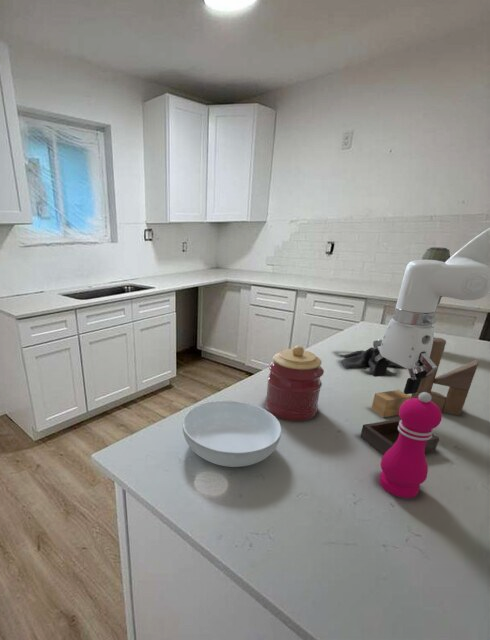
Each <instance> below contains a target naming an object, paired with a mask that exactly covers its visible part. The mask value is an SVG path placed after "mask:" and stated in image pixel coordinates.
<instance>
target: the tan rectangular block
mask: <svg viewBox="0 0 490 640" xmlns="http://www.w3.org/2000/svg"><path fill="white" fill-rule="evenodd" d="M408 399H411V395H410V394H405V393H404V391H402V390H400V389H395V390H387V391H381V392H374V396H373V401H372V405H371V408H370V410H371V411H373V412H374V413H376V414H377V415H378V416H380V417H382V418H386V417H387V418H388V417H394V416H399V409H400V407H401V405H402V404H403V403H404V402H405V401H406V400H408Z"/></svg>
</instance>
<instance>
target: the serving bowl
mask: <svg viewBox="0 0 490 640" xmlns="http://www.w3.org/2000/svg"><path fill="white" fill-rule="evenodd" d="M181 427H182V435H183V437H184V439H185V441H186V443H187V445H188V447H189V448H190V449H191V450H192V451H193V452H194V453H195V454H196V455H197V456H199V458H201V459H203V460H205V461H207V462H209V463H211V464H214V465H218V466H222V467H229V468H238V467H239V468H241V467H247V466H252V465H255V464H258V463H260V462H262V461H264V460H266V458H268V457H269V456H271V454H273V452H274V451H275V450H276V448H277V446H278V444H279V443H280V440H281V437H282V433H283V431H282V430H283V429H282V425H281V423H280V421H279V420H278V417H276V416H274V415H272V414H271V413H270V412H269V411H268V410H267V409H265V408H263V407H260V406H258V405H256V404H252V403H249V402H244V401H239V400H213V401H207V402H203V403H201V404H200V403H199V404H198V405H195V406H194V407H192V408H190V409H189V410H188V411H187V412H186V413H185V414H184V416H183V417H182V421H181Z"/></svg>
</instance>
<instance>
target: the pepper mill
mask: <svg viewBox="0 0 490 640" xmlns="http://www.w3.org/2000/svg"><path fill="white" fill-rule="evenodd" d="M431 398H432V397H431V395H430V394H429V393H427V392H422V393H420V394H419V397H418V398H412V399H408V400H406V401H405V402H404V403H403V404H402V405H401V407H400V409H399V415H398V416H399V419H401V421H400V422H399V426H398V430H399V437H398V439H397V441H396V442H395V444H394V445H393V446H392V447H391V448H390V449H389V450H388V451H387V452H386V453H385V454H384V455H382V458H381V460H380V469H381V472H380V474H379V478H378V483H379V485H380V487H381V488H382V489H384V491H386V492H387V493H389V494H391V495H394V496H395V497H396V496H397V497H400V498H403V499H411V498H415V497H417V496H418V493H419V491H420V487H421V484H423V483H424V482H425V481H426V480H427V478H428V472H429V469H428V468H429V467H428V462H427V457H426V455H425V454H426V453H425V445H426V442H427V440H429V439H431V438H432V434H433V435H434V432H435V431H434V429H435V428H437V427H438V426H439V425H440V424H441V422H442V417H443V414H442V413H443V412H442V411H441V410H440V408H439V407H438V406H437V405H436V404H435V403H433V402H432V401H430V400H431Z"/></svg>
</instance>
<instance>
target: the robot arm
mask: <svg viewBox="0 0 490 640" xmlns="http://www.w3.org/2000/svg"><path fill="white" fill-rule="evenodd" d="M489 294H490V227H488V228H487V229H485V230H483V231H482V232H481V233H479V234H478V235H476V236H475V237H473V238H472V239H471V240H470V241H468V242H467V243H465V244H464V245H463V246H462V247H461V248H460V249H459V250H458V251H456V252H455V253H454V254H453V255H451V256H450V258H449V259H448V260H447V261H446V262H442V261H437V260H422V259H414V260H411V261H409V262H408V263H407V265H406V267H405V269H404V274H403V277H402V282H401V285H400V289H399V293H398V297H397V301H396V305H395V309H394V312H393V316H392V318H390V320H389V322H388V324H387V326H386V328H385V331H384V333H383V336H382V339H377V340H374V341H373V342H372V344H373V348H374V354H375V361H377V362H376V365H375V369H374V373H373V374H372V376H373V377H375V378H377V377H383V376H386V375H385V374H386V370H388V367H387V366H388V362H389V361H386V360H387V359H388V360H390V361H392V362H394V363H396V364H398V365H400V366H402V367H405V368H404V369H407V371H408V374H409V377H408V378H407V379H406V381H405V382H406V383H405V386H404V389H403V393H405V394H407V395H412V393H416V392H417V390H418V388H419V385H420V382H421V379H424V378H425V377H427V376H430V375H431V373H433V372H434V371H435V370H436V369H437V366H436V365H435V364H434V363H433V361H432V360H431V359H430V354H431V349H432V344H433V338H434V336H435V327H434V326H433V325H434V324H435V323H436V322H437V318H436V317H435V315H436V312H435V310H436V311H437V308H438V305H439V304H438V301H439V298H440V296H443V297H442V298H450V299H454V300H459V301H476V300H480V299H482V298H485V297H486V296H488V295H489ZM437 304H438V305H437ZM436 307H437V308H436ZM434 314H435V315H434ZM433 317H434V318H433ZM431 324H432V326H431ZM422 367H425V369H424V370H423V368H422Z"/></svg>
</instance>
